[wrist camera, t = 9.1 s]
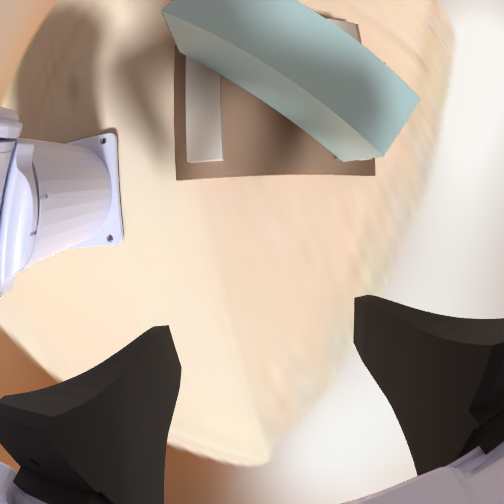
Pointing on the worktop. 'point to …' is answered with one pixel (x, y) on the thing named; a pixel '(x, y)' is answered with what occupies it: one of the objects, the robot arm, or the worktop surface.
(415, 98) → the glasses case
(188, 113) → the display stand
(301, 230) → the worktop surface
